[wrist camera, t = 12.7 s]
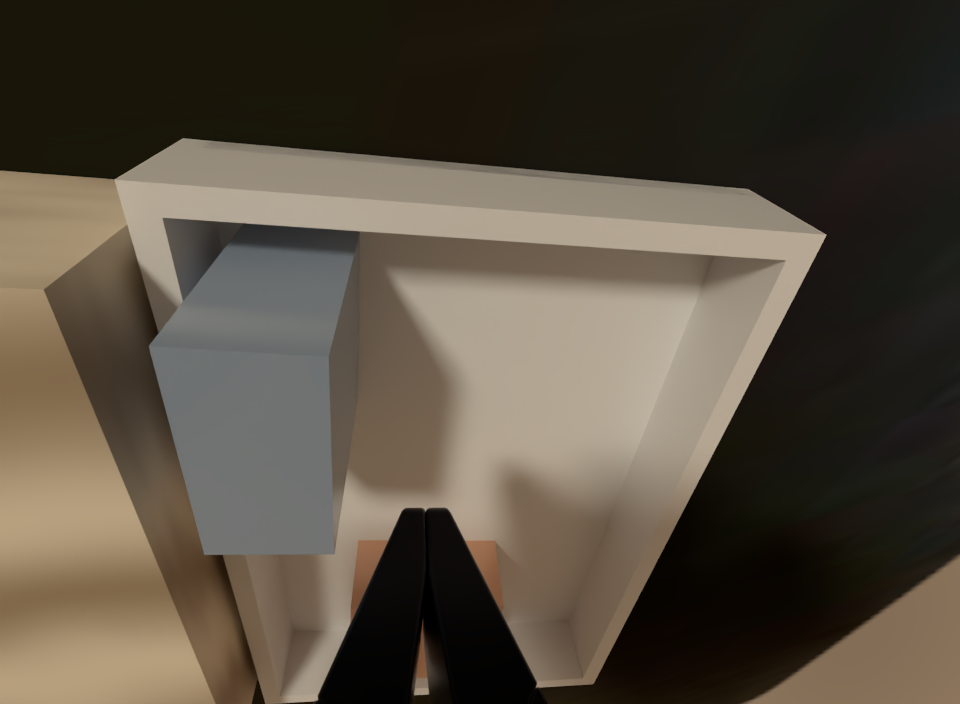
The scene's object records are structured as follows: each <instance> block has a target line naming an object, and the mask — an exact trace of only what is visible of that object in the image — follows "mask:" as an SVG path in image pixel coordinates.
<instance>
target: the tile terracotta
mask: <svg viewBox="0 0 960 704" xmlns="http://www.w3.org/2000/svg"><path fill="white" fill-rule="evenodd" d="M387 542H388V540H358V547H357V556H356V565H355V574H354V583H353V592H352V601H351V621H352V619H353V617H354V615H355V612H356V610H357V608H358V606H359V604H360V601H361V599H362V597H363V595H364V593H365V590H366V588H367V586H368V584H369V582H370V579H371V577H372V575H373V573H374V571H375V569H376V566H377V564H378V562H379V560H380V558H381V555H382V553H383V551H384V549H385V547H386V544H387ZM466 543H467V545H468V547H469V549H470V551H471V553H472V555H473V557H474V559H475V561H476V563H477V565H478V567H479V569H480V571H481V573H482V575H483V577H484V579H485V581H486V583H487V585H488V587H489V589H490V591H491V593H492V595H493V597H494V599H495V601H496V603H497V605H498V606H499V608H500V610H501V612H502V610H503V607H504V603H503V596H502V589H501V582H500V574H499V567H498V560H497V553H496V546H495V541H466ZM416 678H427V670H426V660H425V650H424V639H423V622H422V633H421V644H420V652H419V660H418V668H417V676H416Z"/></svg>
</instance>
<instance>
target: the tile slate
mask: <svg viewBox="0 0 960 704" xmlns="http://www.w3.org/2000/svg"><path fill="white" fill-rule="evenodd" d="M359 269H360V232H355V231H344V230H334V229H321V228H306V227H291V226H277V225H262V224H248V223H244V224H243V225H242V226H241V227H240V229H239V230H238V231H237V233H236V234H235V235H234V237H233V238H232V239H231V240H230V242H229V243H228V244H227V246H226V247H225V248H224V249H223V251H222V252H221V253H220V255H219V256H218V257H217V259H216V260H215V261H214V262H213V264H212V265H211V266H210V268H209V269H208V270H207V271H206V273H205V274H204V275H203V277H202V278H201V279H200V281H199V282H198V283H197V284H196V286H195V287H194V288H193V290H192V291H191V292H190V293H189V295H188V296H187V297H186V299H185V300H184V301H183V303H182V304H181V305H180V306H179V308H178V309H177V310H176V312H175V313H174V314H173V315H172V317H171V318H170V319H169V321H168V322H167V323H166V325H165V326H164V327H163V328H162V330H161V331H160V332H159V334H158V335H157V336H156V337H155V339H154V340H153V341H152V343H151V344H150V345H149V350H150V354H151V357H152V361H153V365H154V368H155V372H156V376H157V380H158V383H159V387H160V391H161V395H162V398H163V402H164V406H165V410H166V413H167V417H168V421H169V425H170V428H171V432H172V436H173V440H174V443H175V447H176V451H177V455H178V458H179V462H180V466H181V469H182V473H183V477H184V481H185V484H186V488H187V492H188V496H189V499H190V503H191V507H192V511H193V514H194V518H195V522H196V526H197V529H198V533H199V537H200V541H201V544H202V548H203V552H204V555H306V554H335V548H336V541H337V535H338V528H339V521H340V515H341V508H342V501H343V495H344V488H345V482H346V475H347V468H348V462H349V455H350V448H351V442H352V435H353V429H354V422H355V415H356V409H357V402H358V362H359Z"/></svg>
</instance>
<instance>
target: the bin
mask: <svg viewBox="0 0 960 704" xmlns="http://www.w3.org/2000/svg"><path fill="white" fill-rule="evenodd" d="M115 184H116V187H117V191H118V194H119V198H120V201H121V204H122V208H123V211H124V215H125V218H126V222H127V225H128V229H129V232H130V236H131V239H132V243H133V246H134V250H135V253H136V256H137V260H138V263H139V267H140V270H141V274H142V277H143V281H144V284H145V288H146V291H147V295H148V298H149V302H150V305H151V308H152V312H153V315H154V319H155V322H156V326H157V329H158V333H159V332H160V331H161V330H162V328H163V327H164V326H165V325H166V323H167V322H168V321H169V319H170V318H171V317H172V315H173V314H174V313H175V312H176V310H177V309H178V308H179V306H180V305H181V304H182V303H183V301H184V300H185V299H186V297H187V296H188V295H189V293H190V292H191V291H192V290H193V288H194V287H195V286H196V284H197V283H198V282H199V281H200V279H201V278H202V277H203V275H204V274H205V273H206V271H207V270H208V269H209V268H210V266H211V265H212V264H213V262H214V261H215V260H216V259H217V257H218V256H219V255H220V253H221V252H222V251H223V249H224V248H225V247H226V246H227V244H228V243H229V242H230V240H231V239H232V238H233V237H234V235H235V234H236V233H237V231H238V230H239V229H240V227H241V226H242V225H243V224H244V223H248V224H262V225H277V226H291V227H306V228H321V229H334V230H344V231H355V232H360V269H359V362H358V402H357V409H356V415H355V422H354V429H353V435H352V442H351V448H350V455H349V462H348V468H347V475H346V482H345V488H344V495H343V501H342V508H341V515H340V521H339V528H338V535H337V541H336V548H335V554H306V555H223V558H224V562H225V565H226V568H227V572H228V575H229V579H230V582H231V586H232V589H233V593H234V596H235V600H236V603H237V607H238V610H239V614H240V617H241V620H242V624H243V627H244V631H245V634H246V638H247V641H248V645H249V648H250V652H251V655H252V659H253V662H254V666H255V669H256V672H257V676H258V679H259V683H260V686H261V690H262V693H263V697H264V700H265V704H277V703H293V702H309V701H316V700H318V694H319V691H320V689H321V687H322V685H323V683H324V680H325V678H326V676H327V674H328V672H329V669H330V667H331V665H332V663H333V661H334V658H335V656H336V654H337V652H338V650H339V647H340V645H341V643H342V641H343V639H344V637H345V634H346V632H347V630H348V628H349V626H350V623H351V601H352V592H353V583H354V574H355V565H356V556H357V547H358V540H389V538H390V536H391V533H392V531H393V529H394V527H395V525H396V522H397V520H398V518H399V516H400V514H401V512H402V510H403V509H405V508H423V509H425V512H426V510H427V509H428V508H447V509H449V511H450V512H451V514H452V516H453V518H454V520H455V522H456V524H457V526H458V528H459V530H460V532H461V534H462V536H463V538H464V539H465V541H495V546H496V553H497V560H498V567H499V574H500V582H501V589H502V596H503V603H504V607H503V610H502V614H503V616H504V618H505V620H506V622H507V624H508V626H509V628H510V630H511V632H512V634H513V636H514V638H515V640H516V642H517V644H518V646H519V648H520V650H521V652H522V654H523V656H524V658H525V660H526V662H527V664H528V666H529V668H530V670H531V672H532V673H533V675H534V677H535V679H536V681H537V686H536V688H537V687H554V686H571V685H587V684H594V682H595V680H596V678H597V676H598V674H599V672H600V670H601V668H602V666H603V664H604V663H605V661H606V659H607V657H608V655H609V653H610V651H611V649H612V647H613V645H614V643H615V641H616V639H617V637H618V636H619V634H620V632H621V630H622V628H623V626H624V624H625V622H626V620H627V618H628V616H629V614H630V612H631V611H632V609H633V607H634V605H635V603H636V601H637V599H638V597H639V595H640V593H641V591H642V589H643V587H644V585H645V584H646V582H647V580H648V578H649V576H650V574H651V572H652V570H653V568H654V566H655V564H656V562H657V560H658V559H659V557H660V555H661V553H662V551H663V549H664V547H665V545H666V543H667V541H668V539H669V537H670V535H671V534H672V532H673V530H674V528H675V526H676V524H677V522H678V520H679V518H680V516H681V514H682V512H683V510H684V508H685V507H686V505H687V503H688V501H689V499H690V497H691V495H692V493H693V491H694V489H695V487H696V485H697V483H698V482H699V480H700V478H701V476H702V474H703V472H704V470H705V468H706V466H707V464H708V462H709V460H710V458H711V456H712V455H713V453H714V451H715V449H716V447H717V445H718V443H719V441H720V439H721V437H722V435H723V433H724V431H725V430H726V428H727V426H728V424H729V422H730V420H731V418H732V416H733V414H734V412H735V410H736V408H737V406H738V404H739V403H740V401H741V399H742V397H743V395H744V393H745V391H746V389H747V387H748V385H749V383H750V381H751V379H752V378H753V376H754V374H755V372H756V370H757V368H758V366H759V364H760V362H761V360H762V358H763V356H764V354H765V352H766V351H767V349H768V347H769V345H770V343H771V341H772V339H773V337H774V335H775V333H776V331H777V329H778V327H779V326H780V324H781V322H782V320H783V318H784V316H785V314H786V312H787V310H788V308H789V306H790V304H791V302H792V300H793V299H794V297H795V295H796V293H797V291H798V289H799V287H800V285H801V283H802V281H803V279H804V277H805V275H806V274H807V272H808V270H809V268H810V266H811V264H812V262H813V260H814V258H815V256H816V254H817V252H818V250H819V248H820V247H821V245H822V243H823V241H824V239H825V237H826V234H824V233H822V232H821V231H819V230H817V229H816V228H814V227H812V226H810V225H809V224H807V223H805V222H804V221H802V220H800V219H798V218H797V217H795V216H793V215H792V214H790V213H788V212H786V211H785V210H783V209H781V208H780V207H778V206H776V205H774V204H773V203H771V202H769V201H768V200H766V199H764V198H762V197H761V196H759V195H757V194H756V193H754V192H752V191H750V190H749V189H741V188H730V187H718V186H707V185H696V184H685V183H674V182H663V181H652V180H640V179H629V178H618V177H607V176H596V175H585V174H574V173H562V172H551V171H540V170H529V169H518V168H507V167H496V166H484V165H473V164H462V163H451V162H440V161H429V160H418V159H406V158H395V157H384V156H373V155H362V154H351V153H340V152H328V151H317V150H306V149H295V148H284V147H273V146H262V145H251V144H239V143H228V142H217V141H206V140H195V139H184V138H183V139H181V140H180V141H178V142H176V143H175V144H173V145H171V146H170V147H168V148H166V149H165V150H163V151H161V152H160V153H158V154H156V155H155V156H153V157H151V158H150V159H148V160H146V161H145V162H143V163H141V164H140V165H138V166H136V167H135V168H133V169H131V170H130V171H128V172H126V173H125V174H123V175H121V176H120V177H118V178H116V179H115ZM424 694H429V689H428V679H427V678H416V684H415V692H414V695H424Z"/></svg>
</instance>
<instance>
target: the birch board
mask: <svg viewBox="0 0 960 704" xmlns="http://www.w3.org/2000/svg"><path fill="white" fill-rule="evenodd" d="M158 334H159V333H158V329H157V326H156V322H155V319H154V315H153V312H152V308H151V305H150V302H149V298H148V295H147V291H146V288H145V284H144V281H143V277H142V274H141V270H140V267H139V263H138V260H137V256H136V253H135V250H134V246H133V243H132V239H131V236H130V232H129V229H128V225H127V222H126V218H125V215H124V211H123V208H122V204H121V201H120V198H119V194H118V191H117V187H116V184H115V179H102V178H89V177H76V176H63V175H50V174H37V173H24V172H11V171H0V704H251V703H252V699H253V695H254V690H255V686H256V682H257V678H258V676H257V672H256V669H255V666H254V662H253V659H252V655H251V652H250V648H249V645H248V641H247V638H246V634H245V631H244V627H243V624H242V620H241V617H240V614H239V610H238V607H237V603H236V600H235V596H234V593H233V589H232V586H231V582H230V579H229V575H228V572H227V568H226V565H225V562H224V558H223V555H204V552H203V548H202V544H201V541H200V537H199V533H198V529H197V526H196V522H195V518H194V514H193V511H192V507H191V503H190V499H189V496H188V492H187V488H186V484H185V481H184V477H183V473H182V469H181V466H180V462H179V458H178V455H177V451H176V447H175V443H174V440H173V436H172V432H171V428H170V425H169V421H168V417H167V413H166V410H165V406H164V402H163V398H162V395H161V391H160V387H159V383H158V380H157V376H156V372H155V368H154V365H153V361H152V357H151V354H150V350H149V345H150V344H151V343H152V341H153V340H154V339H155V337H156V336H157V335H158Z"/></svg>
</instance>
